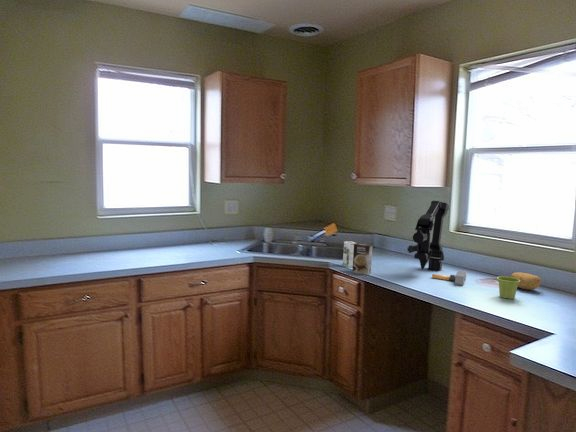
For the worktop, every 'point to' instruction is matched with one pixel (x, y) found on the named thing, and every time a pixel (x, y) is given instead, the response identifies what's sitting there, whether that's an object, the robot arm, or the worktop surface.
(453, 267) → the worktop surface
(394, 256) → the worktop surface
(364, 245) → the coffee box
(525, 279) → the potato
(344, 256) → the syrup box
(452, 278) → the plug
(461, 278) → the housing
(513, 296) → the plant pot
